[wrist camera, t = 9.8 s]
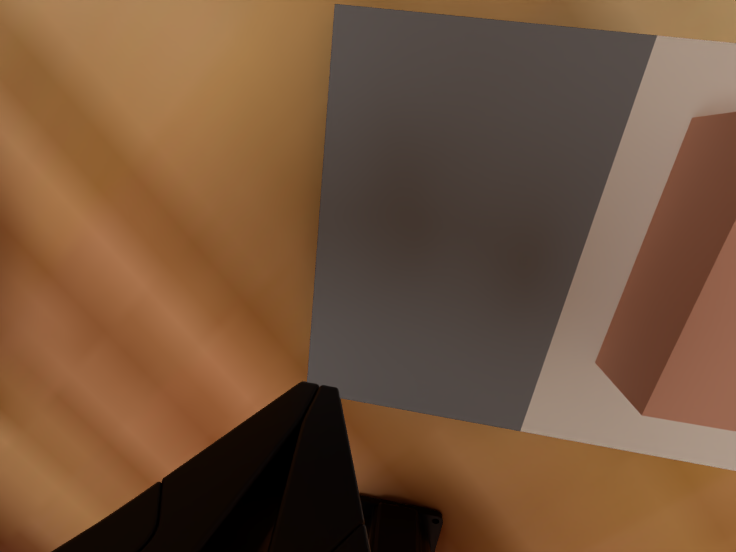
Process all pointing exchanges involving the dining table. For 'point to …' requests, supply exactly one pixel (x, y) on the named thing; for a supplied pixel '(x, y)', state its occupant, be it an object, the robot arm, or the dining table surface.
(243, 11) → the dining table surface
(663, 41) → the board
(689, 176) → the t block
